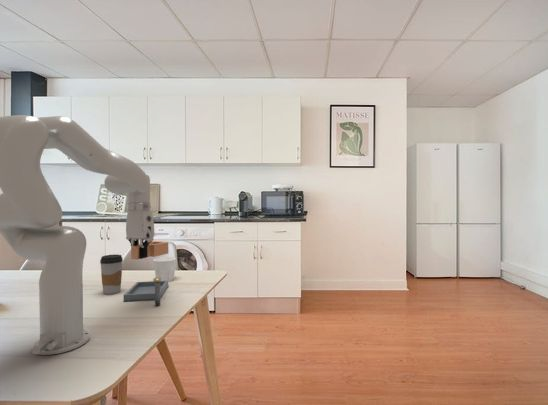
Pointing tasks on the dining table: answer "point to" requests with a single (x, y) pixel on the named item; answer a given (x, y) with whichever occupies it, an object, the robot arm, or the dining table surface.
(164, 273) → the cup
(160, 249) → the orange flat handled frame
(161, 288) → the tray
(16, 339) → the dining table surface
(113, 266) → the coffee cup
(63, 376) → the dining table surface
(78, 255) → the robot arm
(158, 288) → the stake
